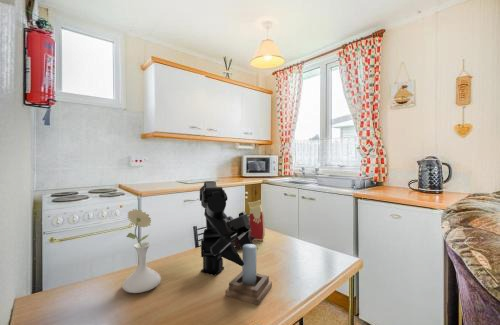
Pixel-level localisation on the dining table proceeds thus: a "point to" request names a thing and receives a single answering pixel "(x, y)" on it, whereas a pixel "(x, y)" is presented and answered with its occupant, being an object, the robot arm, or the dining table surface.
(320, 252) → the dining table surface
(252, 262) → the blue-gray capsule
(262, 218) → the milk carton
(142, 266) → the flower in vase
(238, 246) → the dark red lobed figurine
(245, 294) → the socket base
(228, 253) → the robot arm
